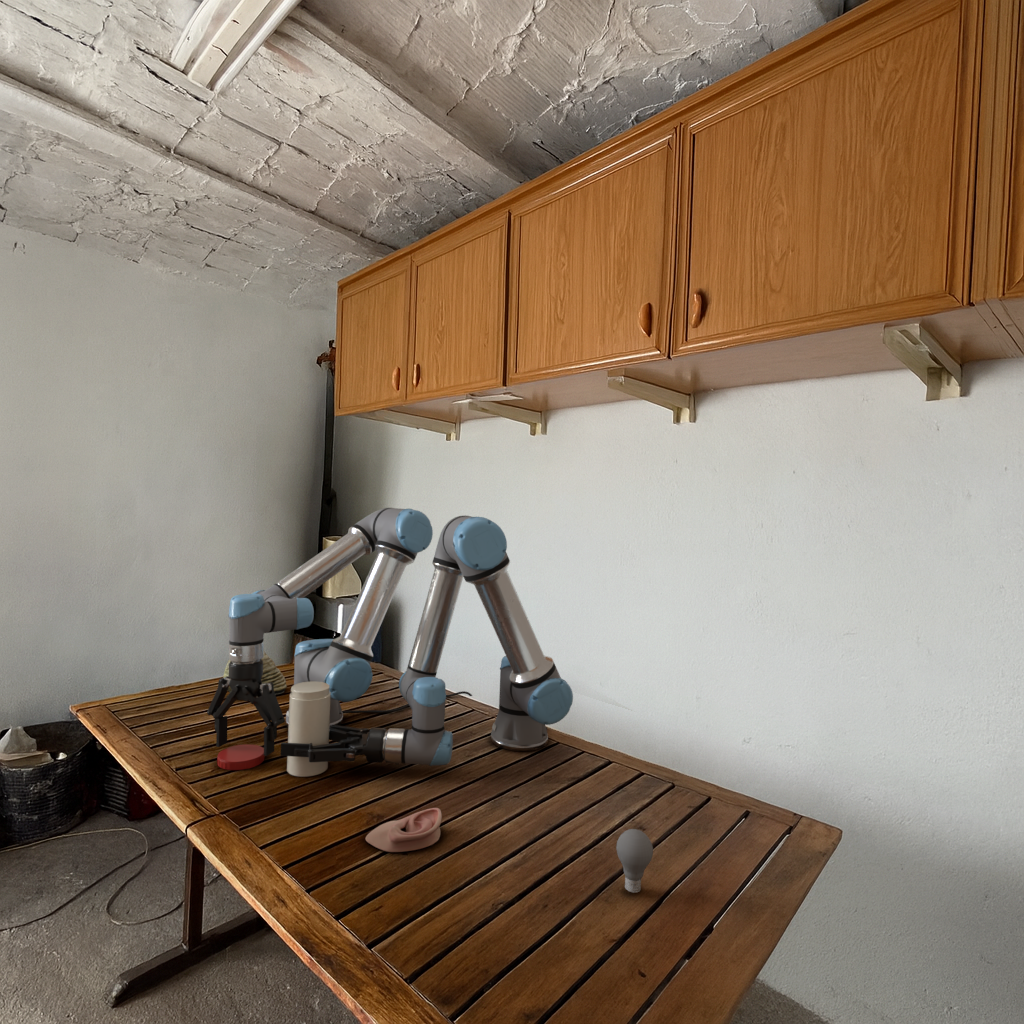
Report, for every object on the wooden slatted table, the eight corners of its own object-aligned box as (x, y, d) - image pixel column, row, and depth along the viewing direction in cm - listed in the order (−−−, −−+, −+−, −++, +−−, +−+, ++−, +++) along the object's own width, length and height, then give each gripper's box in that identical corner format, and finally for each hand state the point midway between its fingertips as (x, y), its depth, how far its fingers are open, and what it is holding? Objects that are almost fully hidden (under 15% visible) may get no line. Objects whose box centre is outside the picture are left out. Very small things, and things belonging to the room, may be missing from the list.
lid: (273, 760, 151) (273, 752, 151) (232, 774, 142) (232, 765, 142) (249, 748, 157) (249, 741, 157) (208, 761, 149) (208, 753, 149)
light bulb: (610, 879, 108) (613, 822, 108) (644, 879, 109) (647, 822, 109) (619, 902, 102) (622, 840, 102) (655, 901, 103) (658, 840, 103)
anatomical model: (358, 825, 115) (384, 797, 126) (357, 847, 115) (383, 816, 126) (428, 836, 112) (447, 806, 123) (427, 858, 112) (447, 826, 123)
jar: (287, 761, 150) (290, 681, 150) (327, 758, 153) (330, 680, 153) (286, 778, 142) (289, 693, 141) (328, 774, 144) (331, 691, 144)
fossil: (218, 695, 195) (220, 647, 195) (278, 685, 208) (279, 640, 207) (228, 703, 189) (230, 653, 188) (289, 692, 201) (290, 645, 201)
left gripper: (191, 658, 150) (190, 747, 150) (280, 670, 142) (279, 763, 143) (215, 651, 157) (214, 735, 158) (301, 662, 149) (299, 750, 150)
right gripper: (374, 782, 136) (270, 777, 136) (394, 743, 158) (304, 739, 158) (375, 747, 136) (271, 742, 136) (395, 713, 158) (305, 709, 158)
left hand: (245, 749), depth 150 cm, fingers open, 13 cm apart
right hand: (289, 740), depth 147 cm, fingers closed on jar, 9 cm apart
